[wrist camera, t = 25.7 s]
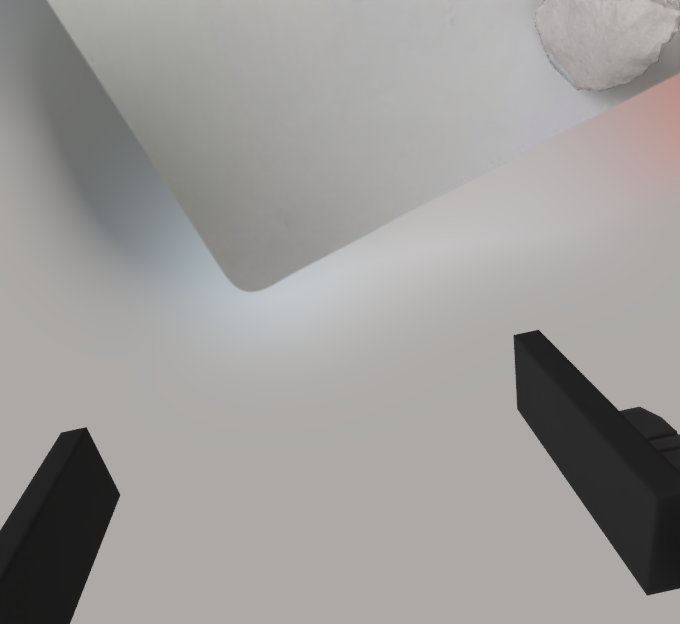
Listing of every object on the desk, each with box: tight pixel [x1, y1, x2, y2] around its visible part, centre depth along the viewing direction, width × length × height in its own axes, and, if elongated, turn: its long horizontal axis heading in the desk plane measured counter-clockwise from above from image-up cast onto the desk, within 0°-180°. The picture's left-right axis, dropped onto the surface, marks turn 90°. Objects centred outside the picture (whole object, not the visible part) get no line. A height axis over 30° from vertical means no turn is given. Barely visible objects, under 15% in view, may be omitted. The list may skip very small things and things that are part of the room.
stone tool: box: [535, 0, 680, 91], centre depth 39 cm, size 9×3×15 cm, turn 36°
